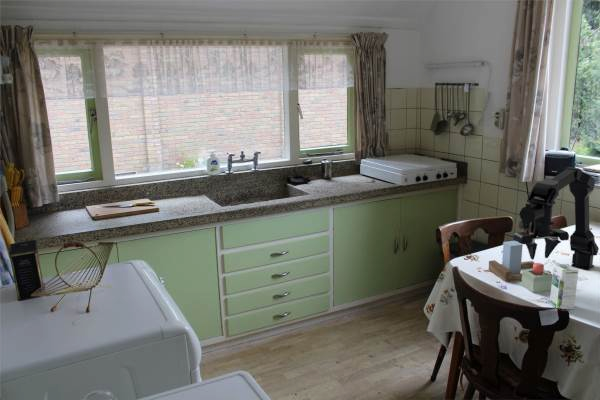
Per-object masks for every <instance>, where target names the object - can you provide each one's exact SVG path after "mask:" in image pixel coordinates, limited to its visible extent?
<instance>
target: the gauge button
mask: <svg viewBox="0 0 600 400" xmlns="http://www.w3.org/2000/svg"><path fill="white" fill-rule="evenodd" d="M532 269H533V273H535V274H543V271H544V270H545V264H543V263H539V262H534V264H533V267H532Z"/></svg>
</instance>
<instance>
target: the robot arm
mask: <svg viewBox="0 0 600 400" xmlns="http://www.w3.org/2000/svg"><path fill="white" fill-rule="evenodd" d="M595 185H596V180H595V178H594V177H593V176H592V175H590V174H588V173H586V172H584V171H583V170H582V169H580V168H577V167H570V166H568V167H565V168H564V170H563V171H561V172H559V173H558V174H557V175H556V176H554V177H552V178H551V179H548V180H541V181H538V182H536V183H535V184H534V186H533V187H532V189H531V191H530V193H529V195H528V198H527V200H526V203H525V206H524V207H522V208H521V209H520V211H519V218H520V219H521V220H519V222H518V223H519V224H518V227H519V230H523V231H520V232H515V233H514V234H513V236H512V237H513V240H512V241H517V242H518V243H520V244H522V245H525V246H526V248H527V251H528V254H529V256H530V257H529V258H530V259H531V261H533V260H534V259H535V256H536V252H537V247H538V243H536V240H542V239H544V241H545V244H544V245H545V246H544V247H545V248H544V258H545V259H549V257H550V255H551V254H552V252H554V249H555V248H556V247H557V246H558V245H559V244H561V241H568V240H570V241H569V246H570V251H571V252H573V253H572V257H571V265H570V266H572V267H574V268H576V269H581V270H585V271H589V270H591V269H592V268H594V267H595V265H594V264H593V263H594V256H597V255H598V253H599V246H598V244H597V243H596V239H595V235H594V233H593V232H592V231H591V229H590V195H591V193H593V191H594V189H595ZM567 186H568V187H569V191H570V193H571V194H572V196H573V198H574V222H575V223H574V227H575V228H574V229H575V230H574V231H573V233H572V234H571V235H570V234H569V233H568V231H567V230H564V229H562V228H553V229H552V228H551V227H552V226H554V221H553V220H552V215H553V208H554V207H553V206H554V205H555V204H556V201H555V200H556V198H558V196H559V195H560V193H559V192H560V191H561V190H562V189H563V188H566V187H567ZM527 232H528V233H527ZM529 233H530V234H529Z"/></svg>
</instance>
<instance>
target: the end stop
mask: <svg viewBox="0 0 600 400" xmlns="http://www.w3.org/2000/svg"><path fill="white" fill-rule="evenodd" d="M501 264H502V263H499V262H498V261H497V260H488V271H489V272H490V273H492V274H493V275H495V276H496V277H498V278H500V279H501V280H502V281H503V282H505V283H506V282H507V283H508V282H512V281H511V277H512V271H511V270H509V269H507V268H506V267H504V266H503V265H501Z"/></svg>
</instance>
